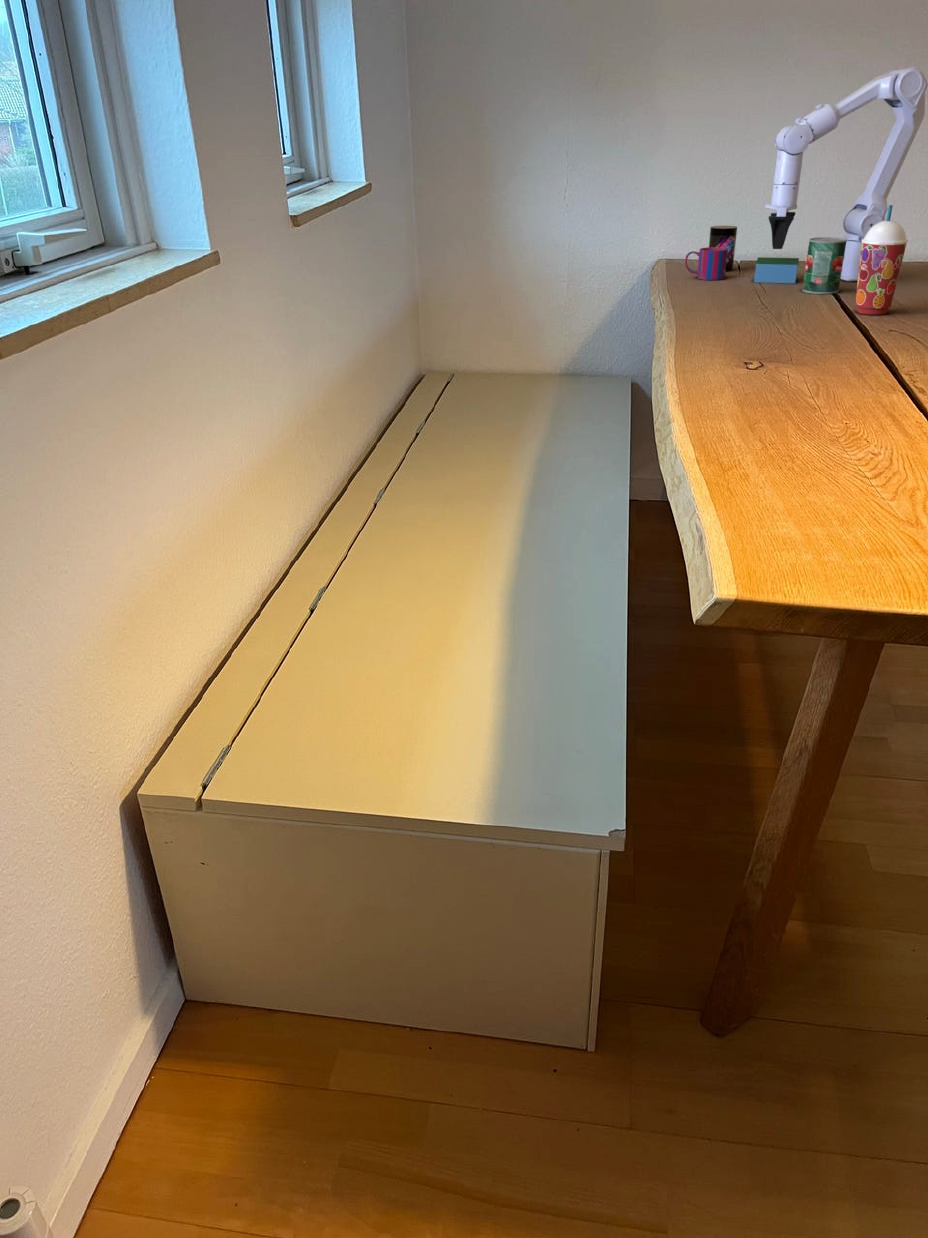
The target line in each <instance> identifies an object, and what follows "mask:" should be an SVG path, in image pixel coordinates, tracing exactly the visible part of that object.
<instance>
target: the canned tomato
mask: <svg viewBox="0 0 928 1238" xmlns="http://www.w3.org/2000/svg"><path fill="white" fill-rule="evenodd" d="M846 241H847V240H846V239H845V237H844V238H843V237H834V236H830V237H829V236H820V237H811V238H809V240H808V247H807V256H806V261H805V270H804V276H803V283H802V289H801V290H802V292H803V293H807V294H815V295H831V294H837V293H839V291H840V284H841V280H842V279H841V272H842V266H843V260H844V253H845V247H846Z"/></svg>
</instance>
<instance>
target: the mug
mask: <svg viewBox="0 0 928 1238" xmlns="http://www.w3.org/2000/svg"><path fill="white" fill-rule="evenodd" d="M727 251H728V249H727V248H719V247H709V246H707V247H701V248H699V251H695V250H694V251H689V252H688V253H687V254H686V255H685V258H684V266H685V268H686V270H687V271H688V272H689V273H691V274H694V275H696V278H697V279H699V280H703V281H720V280H725V278H726V271H725V270H726V261H727ZM691 254H695V255H696V256H698V260H697V261H698V262H697V270H693V269H691V268H689V266H688V258H689V256H690V255H691Z"/></svg>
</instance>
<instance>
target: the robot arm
mask: <svg viewBox="0 0 928 1238" xmlns="http://www.w3.org/2000/svg"><path fill="white" fill-rule="evenodd" d="M927 88H928V82H927V79H926V77H925V74H924V72H923V70H921V69H920V68H919V67H915V66H914V67H907V68H893V69H890V70H888V71H887V72H886V73H884V74H881V75H878V76H876V77H875V78H873V79H872V80H870V81H868V82H867V83H865V84H864V85H862V86H861V87H859V88H858V89H857V90H854V92H852V93H850V94H849V95H848V96H846V97H844V98H842V99H841V100H840V101H838V102H837V103H835V104H834V105H833V104H830V103H825V104H821V103H820V104H818V105H816V106H814V110H813V111H812V112H810V113H808V114H806V115H805V116H803V117H798V118H796V119H794V125H786V126H784V127H783V128H781V129H780V130H779V132H778V133H777V135H776V138H775V139H774V147H775V149H776V151H777V155H776V160H775V161H776V162H775V168H774V175H773V185H772V193H771V201H770V204H769V203H766V204H765V207H764V208H765V209H770V210H773V211H776V212H771V213H770V215H769V216H768V222H769V225H770V230H771V246H772V250H783V248H784V245H785V242H786V238H787V235H788V232H789V228H790V226H791V224H792V223H793V221H794V219H795V216H796V214H797V213H796V211H793V210H797V209H798V204H797V203H798V196H799V188H800V181H801V173H802V167H803V156H804V153H805V151H806V150H807V148H808V147H809V145H810V144H813V143H814V142H816V141H817V140H819V139H821V138H823V137H824V136H826V135H827V134H829V133H831V132H832V131H834V130H836V129H837V127H838V125H839V123H840V121H841V119H843V118H845V117H847V116H848V115H850V114H852V113H853V112H855V111H857V110H859V109H861V108H863V107H864V106H866V105H868V104H870V103H871V102H873V101H876V100H883V101H884V102H885V103H886V104H887V106H889V107H890V108H891V110H892V114H893V115H894V118H895V122H894V125H893V126H892V129H891V131H890V133H889V135H888V137H887V139H886V142H885V144H884V147H883V149H882V150H881V153H880V154H879V155H880V156H879V158H878V160H877V162H876V164H875V167H874V170H873V171H872V173H871V176H870V178H869V180H868V182H867V185H866V187H865V188H864V192H863V193H861V195H859V197H858V198H857V199H856V200H855V201H854V204H853V206H852V207H851V208H850V209H849V210H848V211H847V212H846V214H845V215H844V217H843V220H842V228H843V230H844V232H845V235H844V239H846V240H847V241H846V247H845V253H844V260H843V266H842V272H841V279H840V280H842V281H845V282H858V274H859V265H860V256H861V246H862V239H864V237H865V235H866V234H867V232H868V231H869V230H870V229H871V228H872V227H873V226H874V225H875V224H877V223H879V222H882V221H885V218H886V214H887V213H888V208H889V206H888V201H887V200H888V198H889V195H890V192H891V190H892V188H893V185H894V184H895V182H896V179H897V177H898V175H899V172H900V170H901V168H902V166H903V164H904V162H905V159H906V157H907V155H908V153H909V151H910V149H911V147H912V144H913V142H914V141H915V138H916V135H917V134H918V131H919V129H920V127H921V125H922V123H923V120H924V117H925V113H926V112H925V111H926V110H925V109H926V91H927Z"/></svg>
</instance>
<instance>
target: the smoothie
mask: <svg viewBox="0 0 928 1238" xmlns="http://www.w3.org/2000/svg"><path fill="white" fill-rule="evenodd" d="M892 211H893V205H892V204H889V205H888V210H887V213H886V214H887V215H886V220H885V219H884V221H882V222H879V223H877V224H875V225H874V226H873V227H872V228H871V229H870V230H869V231H868V232H867V234H866V235H865V237H864V239H862V246H861V256H860V265H859V274H858V281H857V285H856V295H855V302H854V303H855V304H854V305H855V306H856V312H857V313H859V314H861V315H868V316H881V315H885V314H887V313H888V310H889V309H890V308H891V307H892V303H893V299H894V296H895V293H896V288H897V284H898V280H899V276H900V272H901V268H902V264H903V260H904V256H905V252H906V247H907V244H908V242H909V240H908V239H907V235H906V231H905V230H904V227H902V225H901V224H900V223H898V222H896V221H894V220H891V217H892Z"/></svg>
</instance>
